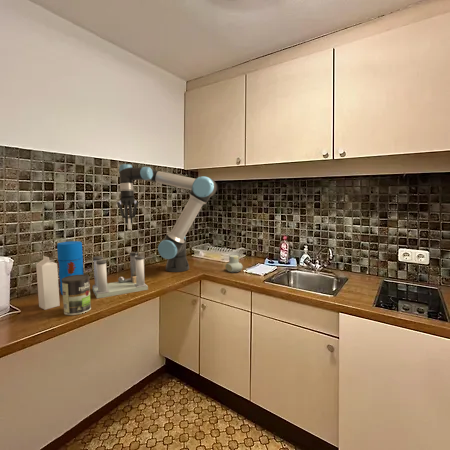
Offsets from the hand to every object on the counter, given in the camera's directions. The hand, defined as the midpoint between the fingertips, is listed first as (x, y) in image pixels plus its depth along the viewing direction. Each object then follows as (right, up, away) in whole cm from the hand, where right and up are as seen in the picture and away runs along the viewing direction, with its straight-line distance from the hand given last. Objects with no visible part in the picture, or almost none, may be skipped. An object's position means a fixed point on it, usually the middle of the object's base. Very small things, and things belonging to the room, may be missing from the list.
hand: (129, 228), depth 175 cm
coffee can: (-3, -34, -56) cm, 65 cm away
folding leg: (+7, -28, -21) cm, 36 cm away
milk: (-18, -33, -51) cm, 63 cm away
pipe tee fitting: (+65, -27, +6) cm, 70 cm away
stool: (+5, -31, -29) cm, 42 cm away
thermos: (-18, -31, -32) cm, 48 cm away
